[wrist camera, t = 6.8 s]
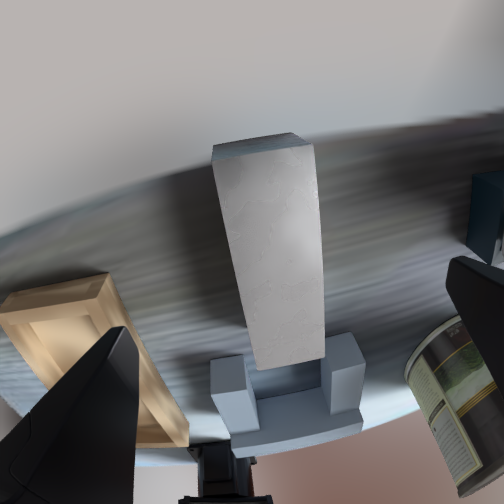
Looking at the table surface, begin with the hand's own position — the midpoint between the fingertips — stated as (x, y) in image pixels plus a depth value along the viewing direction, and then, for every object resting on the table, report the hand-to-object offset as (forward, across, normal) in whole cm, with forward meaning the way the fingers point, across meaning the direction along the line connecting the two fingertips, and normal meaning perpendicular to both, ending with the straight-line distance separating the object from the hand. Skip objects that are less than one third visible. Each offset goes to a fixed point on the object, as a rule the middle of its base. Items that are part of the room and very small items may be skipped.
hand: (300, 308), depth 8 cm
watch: (+10, -17, +4) cm, 20 cm away
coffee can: (+10, -16, +19) cm, 26 cm away
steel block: (+10, 0, +3) cm, 11 cm away
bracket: (+10, 0, +15) cm, 18 cm away
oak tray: (+10, +14, +12) cm, 21 cm away
